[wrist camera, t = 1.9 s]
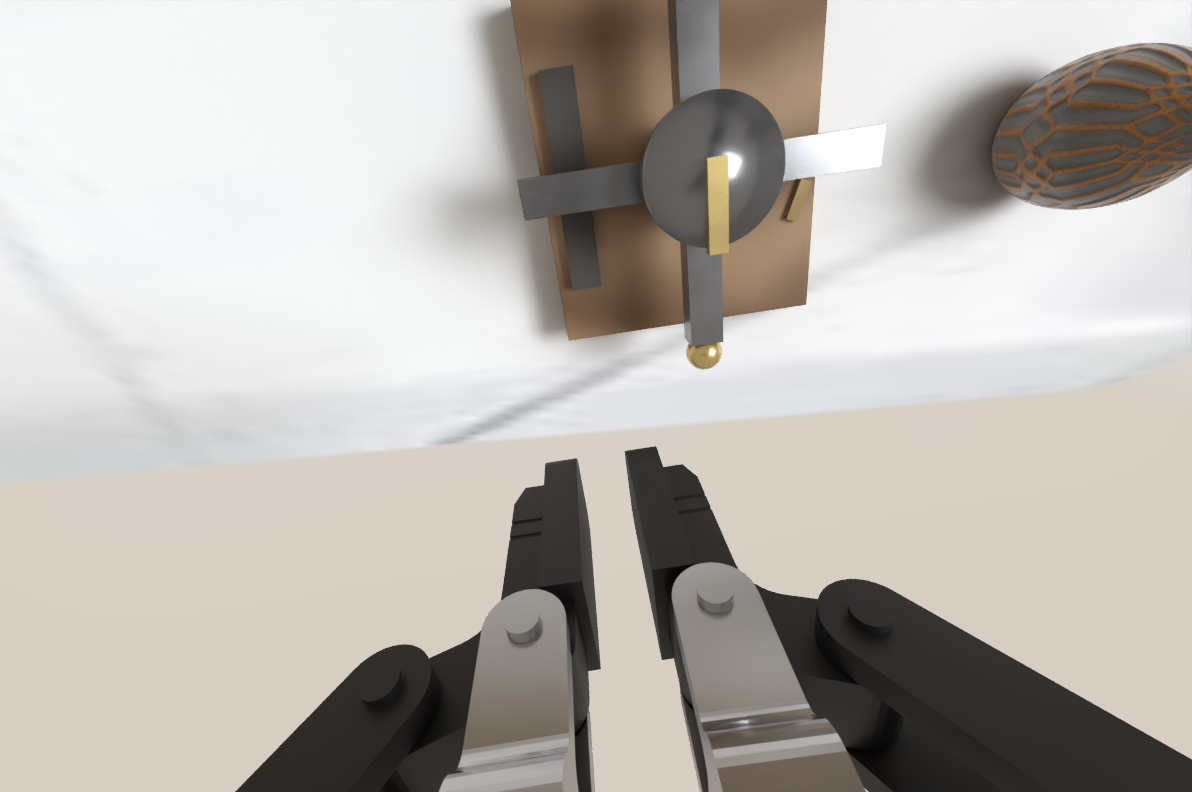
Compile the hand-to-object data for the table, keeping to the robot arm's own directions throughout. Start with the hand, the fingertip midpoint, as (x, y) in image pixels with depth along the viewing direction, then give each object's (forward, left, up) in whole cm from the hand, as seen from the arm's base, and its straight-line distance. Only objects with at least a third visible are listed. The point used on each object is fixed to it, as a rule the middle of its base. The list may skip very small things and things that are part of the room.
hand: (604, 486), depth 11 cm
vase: (-5, +26, -19) cm, 33 cm away
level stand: (-6, +6, -19) cm, 21 cm away
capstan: (-6, +6, -17) cm, 19 cm away
